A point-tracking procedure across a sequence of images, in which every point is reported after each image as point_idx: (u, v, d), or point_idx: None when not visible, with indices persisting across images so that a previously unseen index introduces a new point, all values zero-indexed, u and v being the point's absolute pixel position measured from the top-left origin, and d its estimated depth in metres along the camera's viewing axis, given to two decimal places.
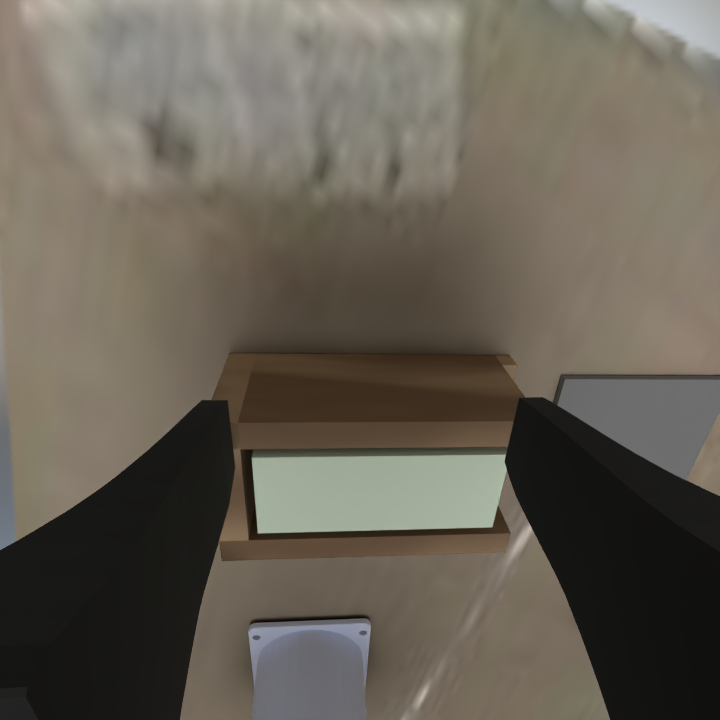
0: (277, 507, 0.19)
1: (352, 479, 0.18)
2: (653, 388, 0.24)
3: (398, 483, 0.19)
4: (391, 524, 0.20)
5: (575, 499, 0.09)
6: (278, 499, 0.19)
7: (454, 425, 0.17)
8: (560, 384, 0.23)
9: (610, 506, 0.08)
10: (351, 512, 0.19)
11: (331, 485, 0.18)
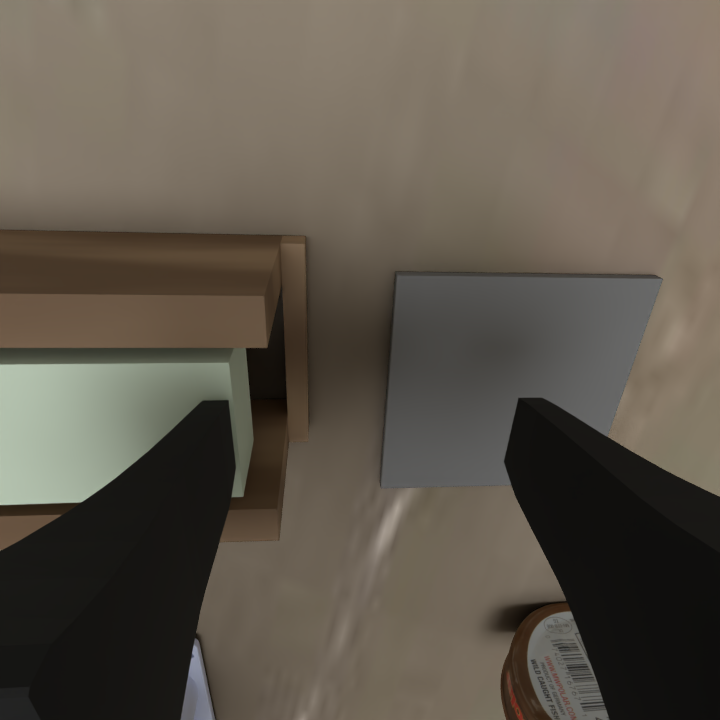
0: None
1: None
2: (539, 292, 0.16)
3: (40, 418, 0.11)
4: (62, 494, 0.12)
5: (574, 498, 0.09)
6: None
7: (97, 302, 0.09)
8: (395, 285, 0.15)
9: (609, 506, 0.08)
10: None
11: None
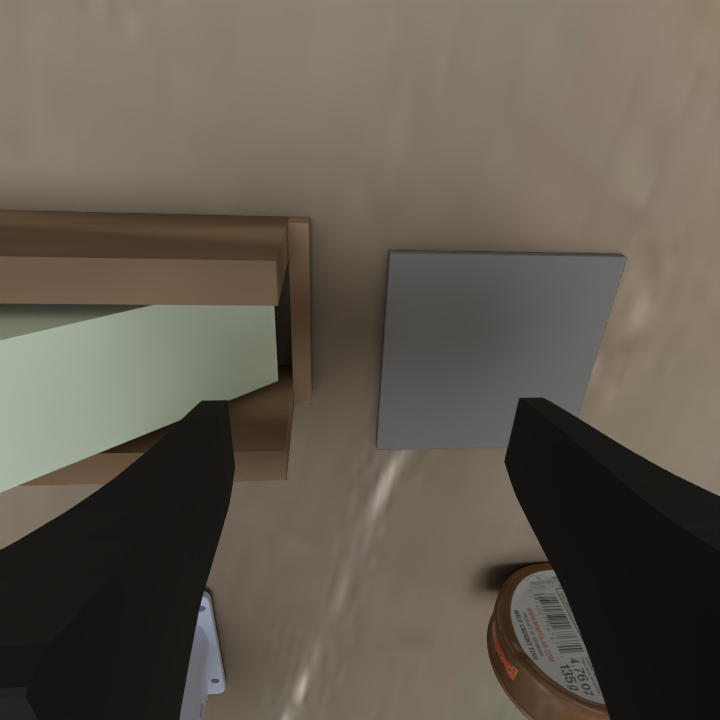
0: None
1: (78, 365, 0.12)
2: (516, 269, 0.17)
3: (150, 352, 0.13)
4: (160, 420, 0.14)
5: (575, 498, 0.09)
6: None
7: (138, 265, 0.11)
8: (388, 262, 0.17)
9: (610, 506, 0.08)
10: (94, 421, 0.13)
11: (44, 385, 0.12)
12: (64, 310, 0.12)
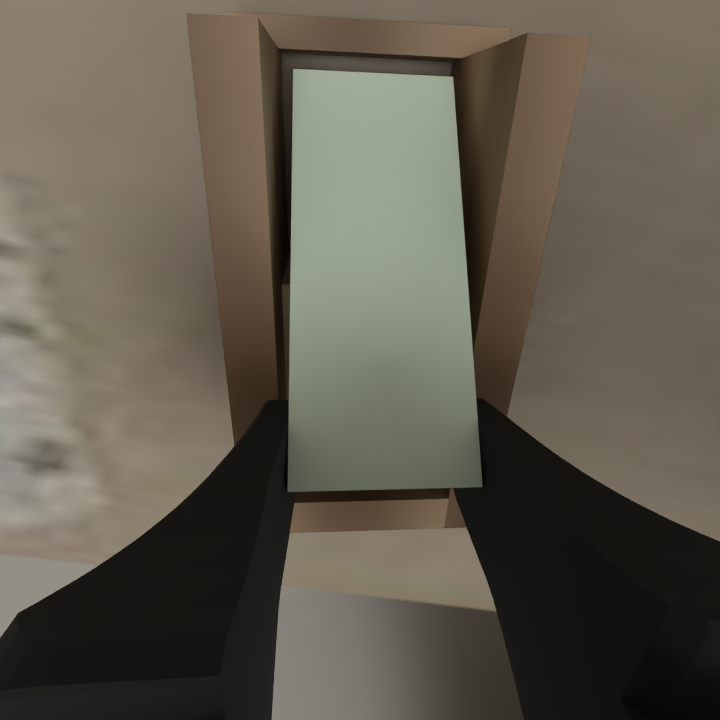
0: (411, 446, 0.10)
1: (343, 308, 0.10)
2: None
3: (352, 232, 0.11)
4: (452, 238, 0.11)
5: (499, 500, 0.09)
6: (391, 443, 0.10)
7: (218, 215, 0.10)
8: None
9: (525, 508, 0.08)
10: (422, 309, 0.10)
11: (356, 346, 0.10)
12: None
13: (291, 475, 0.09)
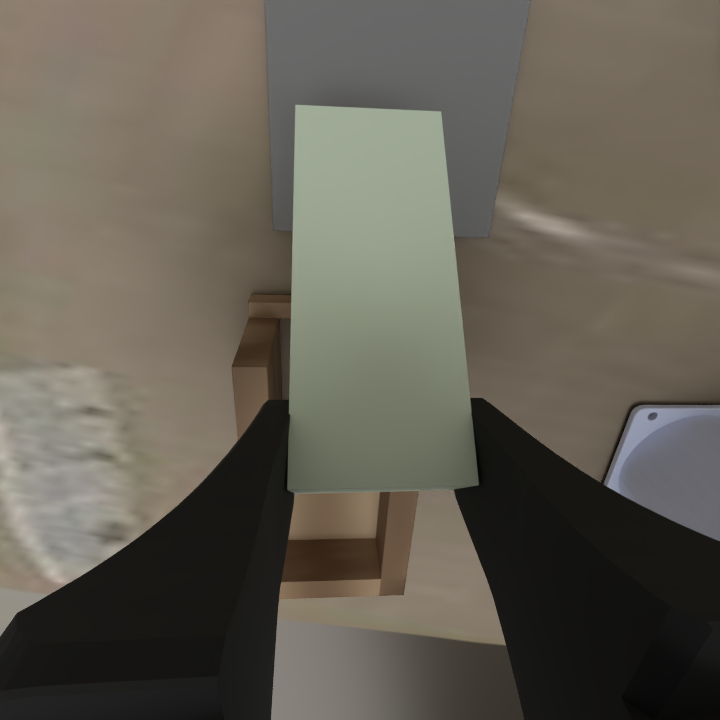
0: (408, 445, 0.10)
1: (341, 315, 0.11)
2: (283, 95, 0.17)
3: (350, 246, 0.11)
4: (443, 251, 0.12)
5: (500, 500, 0.09)
6: (389, 442, 0.10)
7: None
8: (284, 229, 0.19)
9: (525, 508, 0.08)
10: (417, 316, 0.11)
11: (354, 350, 0.11)
12: None
13: (291, 473, 0.10)
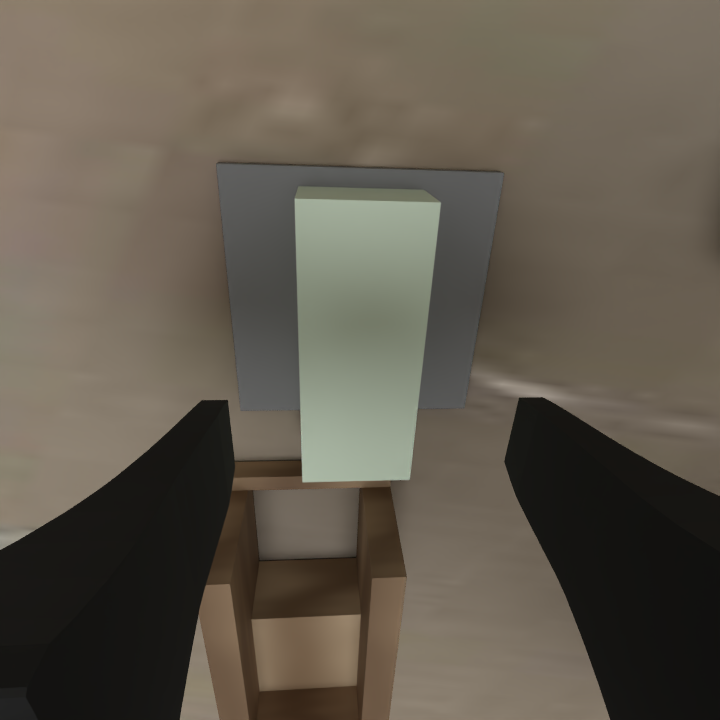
0: (372, 462, 0.17)
1: (335, 393, 0.15)
2: (244, 294, 0.16)
3: (343, 343, 0.15)
4: (415, 346, 0.15)
5: (575, 498, 0.09)
6: (361, 461, 0.17)
7: (210, 644, 0.17)
8: (252, 406, 0.19)
9: (610, 506, 0.08)
10: (387, 392, 0.16)
11: (343, 414, 0.16)
12: None
13: (304, 475, 0.17)
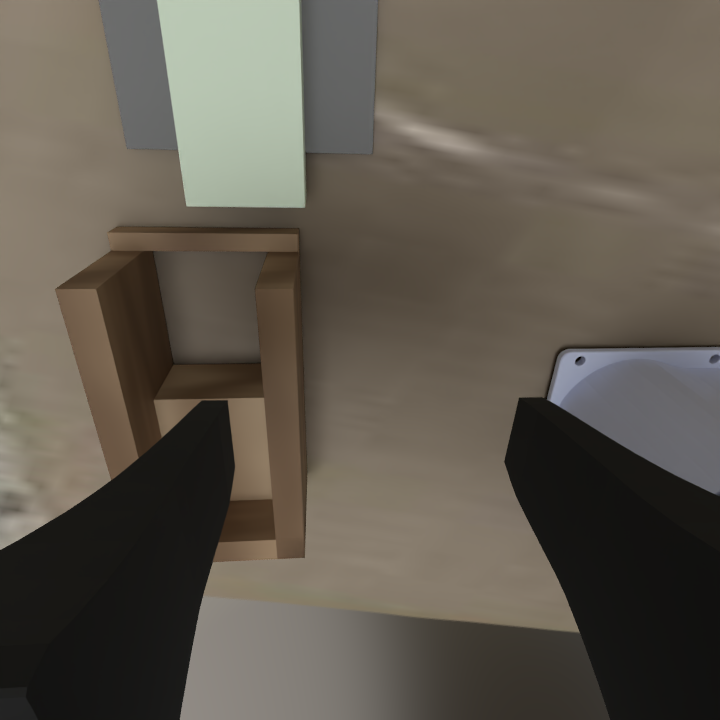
0: (260, 180, 0.16)
1: (206, 75, 0.14)
2: None
3: (207, 0, 0.13)
4: (289, 8, 0.14)
5: (575, 498, 0.09)
6: (248, 178, 0.16)
7: (88, 383, 0.16)
8: (141, 148, 0.17)
9: (610, 506, 0.08)
10: (265, 77, 0.14)
11: (219, 107, 0.15)
12: None
13: (187, 196, 0.16)
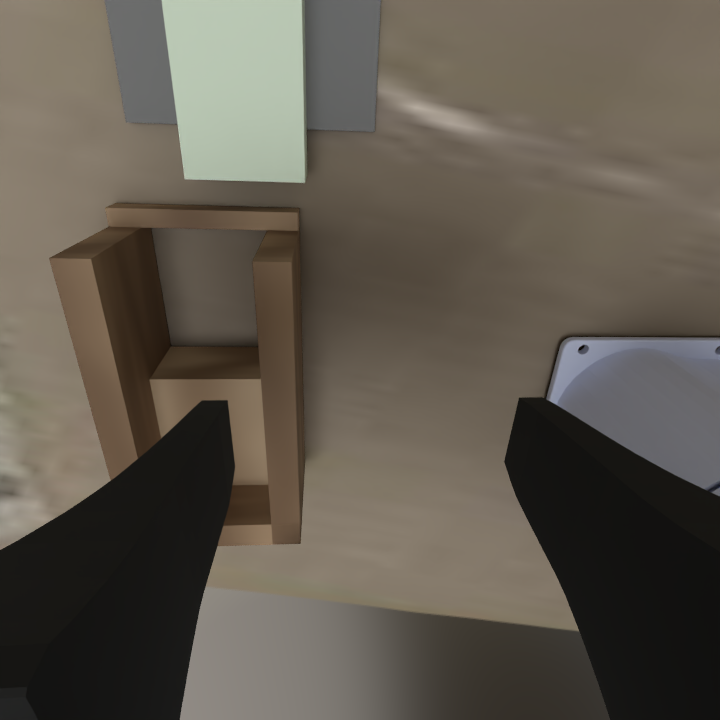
0: (260, 153, 0.15)
1: (206, 43, 0.14)
2: None
3: None
4: None
5: (575, 498, 0.09)
6: (247, 151, 0.15)
7: (82, 357, 0.16)
8: (141, 122, 0.17)
9: (610, 506, 0.08)
10: (266, 46, 0.14)
11: (219, 76, 0.14)
12: None
13: (185, 169, 0.15)
